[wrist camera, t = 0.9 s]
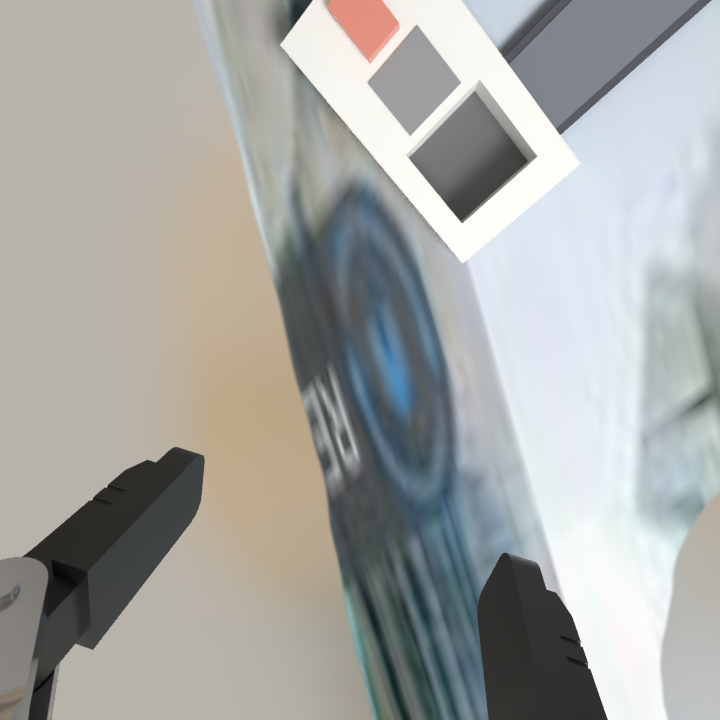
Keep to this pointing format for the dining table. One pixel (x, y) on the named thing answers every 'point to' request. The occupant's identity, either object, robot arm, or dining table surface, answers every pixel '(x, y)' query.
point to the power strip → (434, 110)
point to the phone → (591, 50)
